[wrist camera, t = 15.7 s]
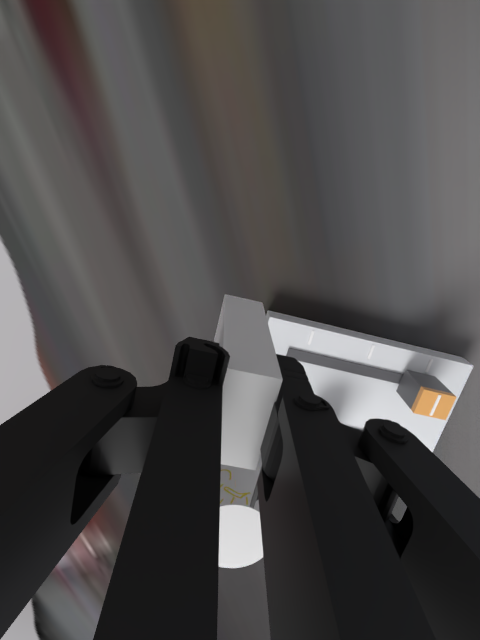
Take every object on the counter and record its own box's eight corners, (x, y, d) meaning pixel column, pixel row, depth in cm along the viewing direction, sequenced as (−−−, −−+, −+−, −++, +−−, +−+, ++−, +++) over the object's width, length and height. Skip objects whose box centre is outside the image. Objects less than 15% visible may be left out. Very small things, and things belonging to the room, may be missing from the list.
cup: (245, 423, 52) (250, 492, 40) (273, 471, 54) (286, 549, 43) (187, 450, 53) (176, 525, 41) (218, 495, 55) (216, 578, 44)
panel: (267, 310, 47) (270, 317, 44) (462, 357, 49) (474, 366, 47) (234, 422, 51) (234, 435, 49) (414, 460, 54) (423, 474, 52)
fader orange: (405, 369, 47) (424, 389, 42) (434, 376, 47) (457, 397, 42) (396, 391, 47) (414, 413, 43) (425, 397, 48) (446, 420, 43)
